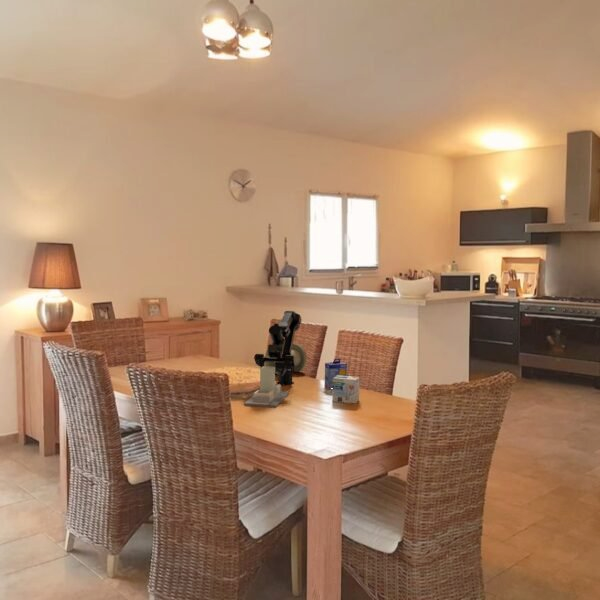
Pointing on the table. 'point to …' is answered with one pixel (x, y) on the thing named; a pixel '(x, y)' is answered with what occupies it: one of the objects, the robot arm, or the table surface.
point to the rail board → (273, 404)
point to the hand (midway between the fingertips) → (271, 375)
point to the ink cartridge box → (334, 371)
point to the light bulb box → (345, 389)
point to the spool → (299, 358)
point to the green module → (267, 379)
